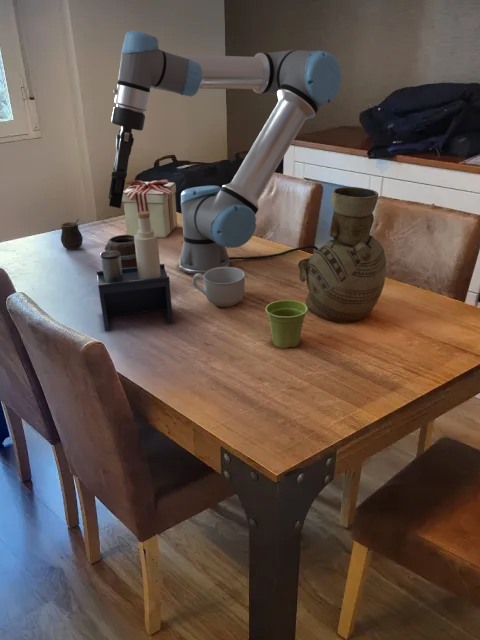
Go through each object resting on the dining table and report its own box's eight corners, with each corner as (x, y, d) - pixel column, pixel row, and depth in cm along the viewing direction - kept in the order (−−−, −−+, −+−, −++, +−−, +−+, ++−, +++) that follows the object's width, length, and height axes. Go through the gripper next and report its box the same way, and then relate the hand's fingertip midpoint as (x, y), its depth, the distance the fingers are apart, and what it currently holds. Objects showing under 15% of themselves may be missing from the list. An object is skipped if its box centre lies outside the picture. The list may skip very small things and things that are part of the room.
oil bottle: (159, 271, 159) (153, 208, 150) (162, 278, 154) (156, 214, 146) (137, 273, 158) (130, 210, 150) (139, 281, 154) (132, 217, 145)
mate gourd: (66, 244, 216) (61, 214, 210) (87, 244, 215) (83, 214, 209) (59, 251, 210) (53, 221, 204) (81, 251, 209) (76, 221, 203)
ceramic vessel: (291, 300, 168) (295, 181, 151) (371, 297, 167) (384, 178, 150) (299, 331, 152) (305, 203, 135) (388, 328, 151) (404, 199, 135)
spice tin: (122, 275, 157) (119, 249, 154) (124, 282, 153) (121, 255, 150) (103, 277, 157) (99, 251, 153) (104, 284, 153) (100, 257, 149)
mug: (158, 291, 177) (153, 238, 168) (122, 303, 171) (115, 249, 162) (127, 277, 187) (121, 226, 179) (92, 288, 181) (84, 236, 173)
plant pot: (295, 355, 142) (296, 319, 137) (258, 346, 146) (258, 311, 141) (312, 339, 148) (314, 304, 143) (276, 331, 152) (277, 297, 148)
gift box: (123, 240, 217) (116, 188, 208) (136, 224, 232) (131, 175, 223) (171, 240, 214) (167, 187, 205) (182, 224, 229) (179, 174, 220)
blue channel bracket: (167, 308, 167) (163, 263, 160) (172, 323, 159) (169, 277, 152) (103, 315, 165) (96, 270, 158) (104, 331, 157) (98, 285, 150)
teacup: (251, 297, 170) (251, 269, 166) (235, 313, 162) (235, 283, 158) (204, 291, 175) (203, 263, 171) (187, 306, 167) (185, 277, 163)
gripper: (112, 104, 157) (99, 193, 165) (114, 104, 135) (98, 206, 144) (142, 112, 159) (127, 199, 167) (149, 113, 137) (131, 214, 145)
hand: (114, 203), depth 155 cm, fingers open, 13 cm apart
